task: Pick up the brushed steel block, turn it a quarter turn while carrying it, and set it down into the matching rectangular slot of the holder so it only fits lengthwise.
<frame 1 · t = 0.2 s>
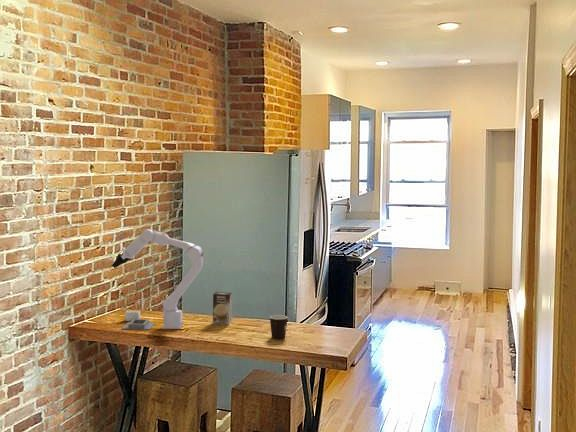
hand: (115, 265, 330), 31 cm above the table, tool tilted 45°, fingers open, 7 cm apart
slot holder: (138, 326, 332), on the table
coffee box: (221, 323, 342), on the table
coffee mug: (276, 338, 315), on the table
steel block: (132, 320, 344), on the table
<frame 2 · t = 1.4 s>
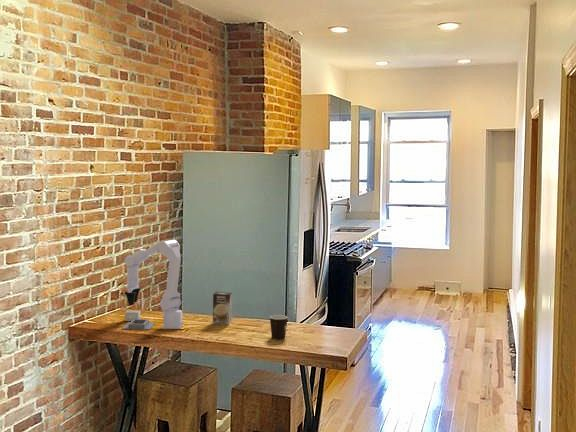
hand: (132, 303, 343), 9 cm above the table, tool pointing down, fingers open, 7 cm apart
nothing on the table moved.
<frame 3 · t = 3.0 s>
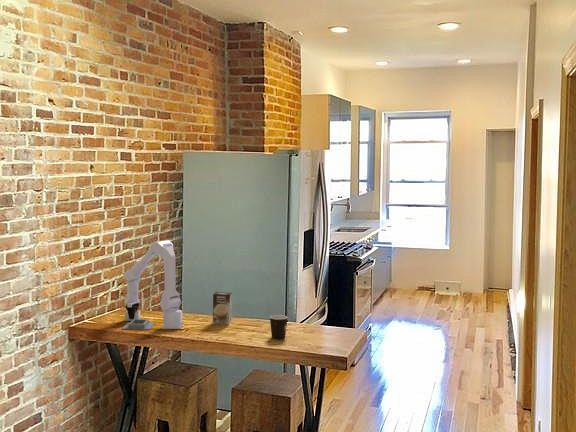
hand: (132, 317, 344), 1 cm above the table, tool pointing down, fingers closed on steel block, 4 cm apart
steel block: (132, 320, 344), on the table, touching gripper
everything else where it was.
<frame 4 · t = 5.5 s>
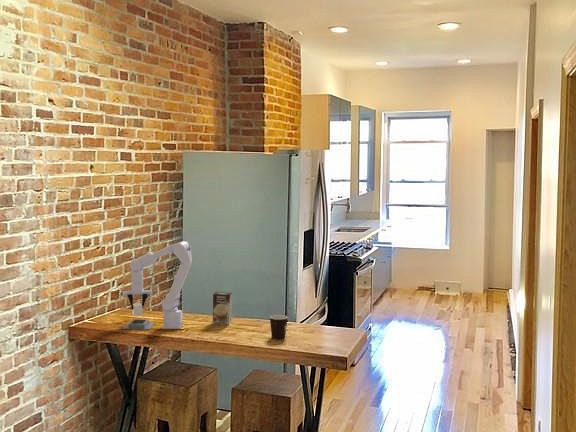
hand: (137, 308, 334), 8 cm above the table, tool pointing down, fingers closed on steel block, 4 cm apart
steel block: (137, 314, 335), point 5 cm above the table, touching gripper
everything else where it was.
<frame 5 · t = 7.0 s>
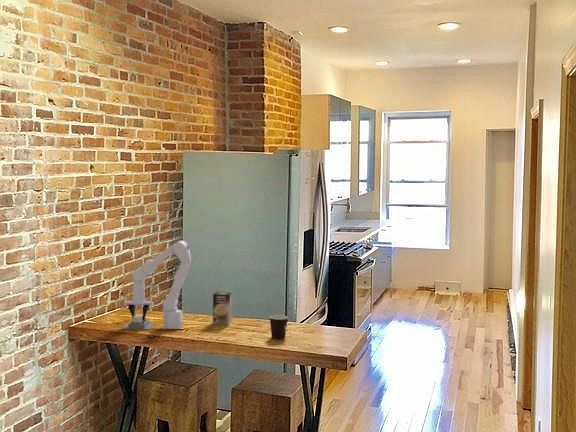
hand: (138, 319, 332), 4 cm above the table, tool pointing down, fingers closed on steel block, 4 cm apart
steel block: (139, 325, 332), point 1 cm above the table, touching gripper, slot holder
everything else where it was.
when the fingers open (3 cm above the table, at t = 7.9 s): steel block stays where it is, resting on slot holder.
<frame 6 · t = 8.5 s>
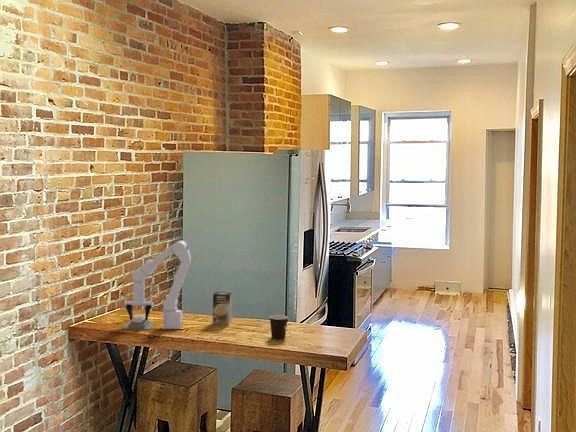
hand: (138, 319, 332), 3 cm above the table, tool pointing down, fingers open, 7 cm apart
steel block: (139, 325, 332), point 1 cm above the table, touching slot holder
everything else where it was.
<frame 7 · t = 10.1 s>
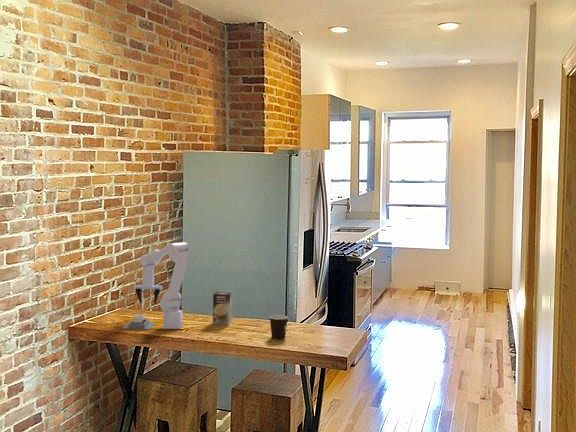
hand: (148, 303, 343), 9 cm above the table, tool pointing down, fingers open, 7 cm apart
nothing on the table moved.
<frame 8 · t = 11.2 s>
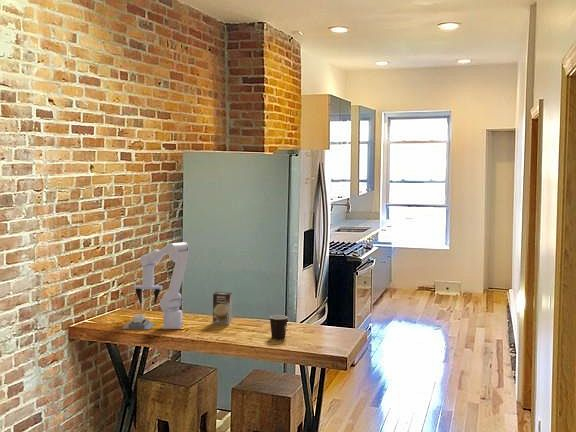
hand: (148, 303, 343), 9 cm above the table, tool pointing down, fingers open, 7 cm apart
nothing on the table moved.
at the end: steel block 0.3 cm off-centre on the slot holder, point 0.6 cm above the slot holder's base; steel block tilted 0°; the gripper is holding nothing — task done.
